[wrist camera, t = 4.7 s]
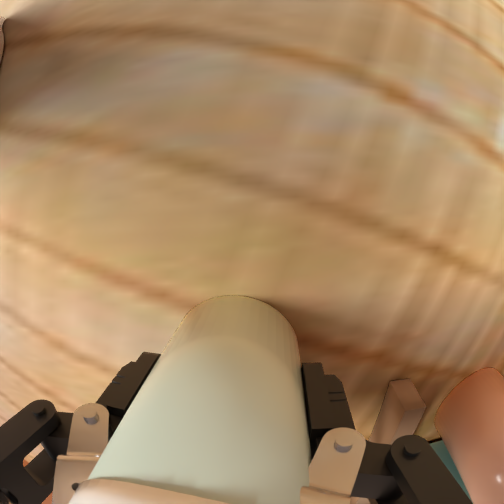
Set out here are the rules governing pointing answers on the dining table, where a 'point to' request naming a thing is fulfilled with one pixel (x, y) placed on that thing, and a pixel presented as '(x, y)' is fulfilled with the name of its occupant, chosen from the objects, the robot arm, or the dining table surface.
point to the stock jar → (476, 434)
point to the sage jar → (213, 416)
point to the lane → (396, 417)
